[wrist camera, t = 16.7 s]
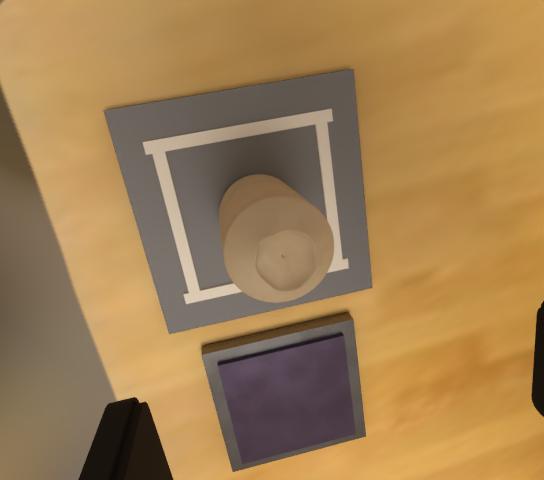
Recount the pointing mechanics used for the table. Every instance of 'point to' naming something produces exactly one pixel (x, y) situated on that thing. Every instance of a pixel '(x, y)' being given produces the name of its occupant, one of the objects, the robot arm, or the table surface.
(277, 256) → the candle
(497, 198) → the table surface
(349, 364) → the ink pad
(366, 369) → the table surface
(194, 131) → the marked board
